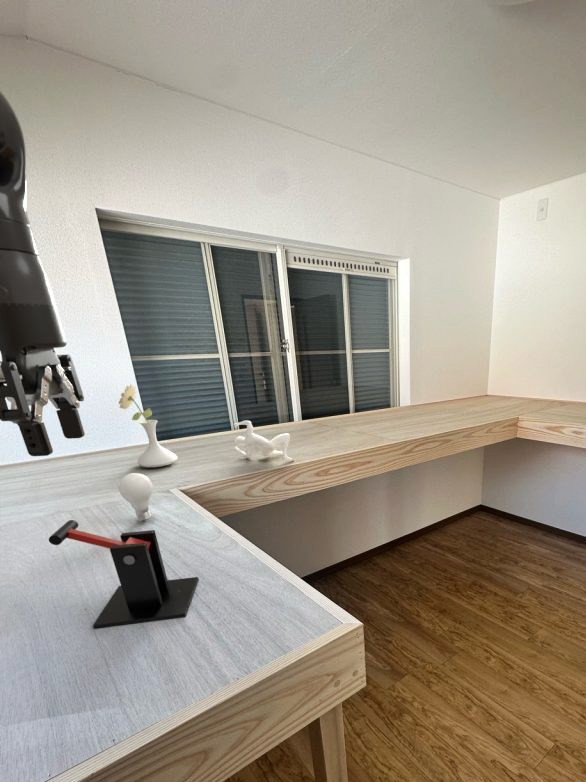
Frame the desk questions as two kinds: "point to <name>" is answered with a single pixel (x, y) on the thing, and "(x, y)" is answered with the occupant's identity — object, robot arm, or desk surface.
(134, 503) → the lightbulb
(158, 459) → the flower in vase
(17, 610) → the desk surface
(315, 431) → the desk surface
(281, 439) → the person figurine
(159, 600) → the switch base
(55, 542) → the switch lever
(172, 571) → the desk surface
